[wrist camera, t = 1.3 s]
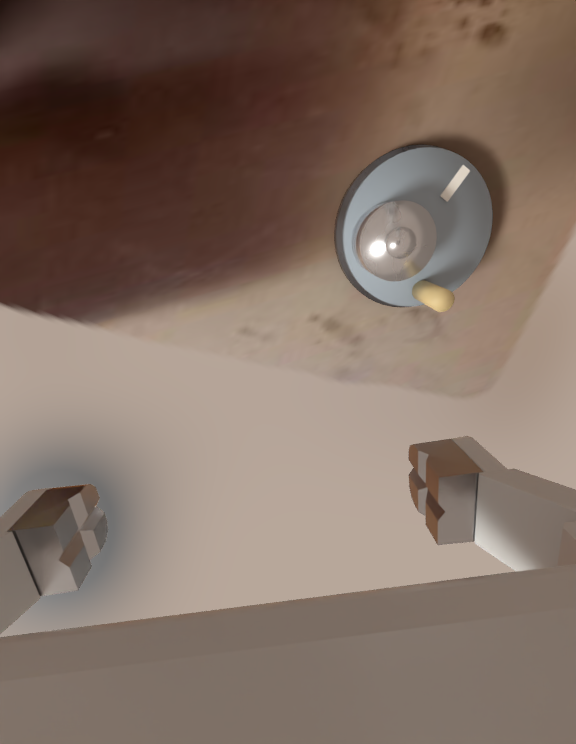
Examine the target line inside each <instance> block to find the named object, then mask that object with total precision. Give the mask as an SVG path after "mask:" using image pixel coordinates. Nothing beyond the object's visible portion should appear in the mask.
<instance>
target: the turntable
mask: <svg viewBox="0 0 576 744" xmlns="http://www.w3.org/2000/svg"><path fill="white" fill-rule="evenodd" d="M401 200H405V201H412V202H415V203H417V204H419V205H421V206H422V207H424V208H425V209H426V210H427V211H428V212H429V213H430V215H431V217H432V218H433V220H434V223H435V226H436V232H437V240H436V246H435V250H434V253H433V255H432V257H431V259H430V261H429V262H428V264H427V265H426V266H425V267H424V268H423V269H422V270H421V271H420V272H419V273H418V274H416V275H415V276H413V277H411V278H409V279H406V280H403V281H394V282H393V281H386V280H383V279H380V278H378V277H376V276H375V275H373V274H371V273H369V272H367V271H366V270H364V269H363V268H362V267H361V266H360V265H359V264H358V263H357V261H356V259H355V257H354V255H353V251H352V245H351V239H352V233H353V230H354V227H355V225H356V223H357V221H358V220H359V218H360V217H361V216H362V215H363V214H364V213H365V212H366V211H367V210H368V209H370V208H371V207H373V206H375V205H378V204H381V203H386V202H393V201H401ZM492 218H493V212H492V202H491V198H490V194H489V191H488V188H487V185H486V183H485V181H484V180H483V178H482V176H481V174H480V173H479V172H478V171H477V169H476V168H475V167H474V166H473V165H472V164H471V163H470V162H469V161H468V160H466V159H465V158H463V157H462V156H460V155H458V154H456V153H454V152H452V151H449V150H445V149H441V148H433V147H426V148H417V149H412V150H408V151H405V152H402V153H400V154H398V155H396V156H394V157H392V158H390V159H388V160H386V161H384V162H383V163H381V164H380V165H379V166H377V167H376V168H375V169H374V170H372V171H371V172H370V173H369V174H368V175H367V176H366V177H365V178H364V180H363V181H362V182H361V183H360V185H359V186H358V188H357V189H356V190H355V192H354V194H353V196H352V198H351V200H350V202H349V204H348V207H347V210H346V213H345V217H344V221H343V228H342V246H343V252H344V256H345V260H346V263H347V265H348V268H349V270H350V272H351V273H352V275H353V277H354V278H355V279H356V281H357V282H358V283H359V284H360V285H361V286H362V287H363V288H364V289H365V290H366V291H367V292H369V293H370V294H372V295H373V296H374V297H376V298H378V299H380V300H381V301H384V302H387V303H389V304H393V305H398V306H419V305H424V304H425V305H427V306H429V307H431V308H432V309H434V310H436V311H438V312H444V311H447V310H448V309H450V308H451V306H452V305H453V303H454V295H453V293H452V292H453V291H454V290H456V289H457V288H458V287H459V286H461V285H462V284H463V283H464V282H465V281H466V280H467V279H468V278H469V276H470V275H471V274H472V273H473V272H474V270H475V269H476V267H477V266H478V264H479V263H480V261H481V259H482V257H483V255H484V253H485V250H486V248H487V245H488V242H489V239H490V235H491V229H492Z"/></svg>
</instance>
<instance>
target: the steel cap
mask: <svg viewBox="0 0 576 744" xmlns="http://www.w3.org/2000/svg"><path fill="white" fill-rule="evenodd" d="M436 240H437V232H436V226H435V223H434V220H433V218H432V217H431V215H430V213H429V212H428V211H427V210H426V209H425V208H424V207H422V206H421V205H419V204H417V203H415V202H412V201H405V200H401V201H393V202H386V203H381V204H378V205H375V206H373V207H371V208H370V209H368V210H367V211H366V212H365V213H364V214H363V215H362V216H361V217H360V218H359V220H358V221H357V223H356V225H355V227H354V230H353V233H352V239H351V245H352V251H353V255H354V257H355V259H356V261H357V263H358V264H359V265H360V266H361V267H362V268H363V269H364V270H366V271H367V272H369V273H371V274H373V275H375V276H376V277H378V278H380V279H383V280H386V281H393V282H394V281H403V280H406V279H409V278H411V277H413V276H415V275H416V274H418V273H419V272H420V271H421V270H422V269H423V268H424V267H425V266H426V265H427V264H428V262H429V261H430V259H431V257H432V255H433V253H434V250H435V246H436Z"/></svg>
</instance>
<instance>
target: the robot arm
mask: <svg viewBox="0 0 576 744" xmlns="http://www.w3.org/2000/svg"><path fill="white" fill-rule="evenodd" d="M409 461H410V462H411V464H412V466H413V467H414V468H413V469H412V471H411V472H410V474H409V487H410V492H411V497H412V500H413V502H414V505H415V507H416V508H417V510H418V512H420V513H421V514H423V515H425V516H426V526H427V528H428V529H429V531H430V533H431V534H432V536H433V538H434V539H435V541H436V543H437V545H442V544H453V543H463V542H473V541H475V544H477V545H478V546H480V547H481V548H482V549H484V550H485V551H487V552H488V553H490V554H491V555H493V556H494V557H496V558H497V559H499V560H500V561H502V562H503V563H505V564H506V565H508V566H509V567H510V568H512V569H513V570H515V571H516V572H509V573H501V574H494V575H486V576H478V577H470V578H463V579H455V580H447V581H439V582H431V583H423V584H415V585H407V586H400V587H392V588H384V589H376V590H368V591H360V592H352V593H344V594H337V595H330V596H322V597H313V598H306V599H297V600H289V601H282V602H274V603H266V604H259V605H251V606H243V607H235V608H227V609H219V610H211V611H204V612H196V613H188V614H180V615H172V616H164V617H156V618H148V619H140V620H133V621H125V622H117V623H109V624H101V625H94V626H85V627H78V628H70V629H62V630H54V631H47V632H38V633H30V634H22V635H15V636H7V637H0V744H576V490H575V489H572V488H569V487H566V486H563V485H560V484H558V483H555V482H552V481H548V480H546V479H543V478H540V477H537V476H534V475H531V474H528V473H525V472H522V471H519V470H516V469H507V468H505V466H503V465H502V464H501V463H500V462H499V461H498V460H497V459H496V458H494V457H493V456H492V455H491V454H490V453H489V452H488V451H487V450H485V449H484V448H483V447H482V446H481V445H480V444H479V443H478V442H477V441H475V440H474V439H473V438H472V437H469V436H465V437H459V438H453V439H446V440H440V441H433V442H426V443H419V444H413V445H410V447H409ZM99 499H100V497H99V494H98V492H97V489H96V487H95V486H93V485H91V484H85V485H75V486H65V487H56V488H45V489H38V490H32V491H29V492H26V493H25V494H24V495H23V496H22V497H21V498H20V499H19V500H18V501H17V502H16V503H15V504H14V505H13V506H12V507H11V508H10V509H9V510H7V512H5V513H4V515H2V517H0V634H1V633H2V632H3V631H4V630H6V629H7V628H8V627H9V626H10V625H11V624H12V623H13V622H15V620H17V619H18V618H19V617H20V616H21V615H22V614H23V613H25V611H27V610H28V609H29V608H30V607H31V606H32V605H33V604H35V603H36V602H37V601H38V600H39V599H40V596H45V595H52V594H58V593H65V592H70V591H77V590H79V588H80V586H81V584H82V583H83V581H84V579H85V577H86V576H87V574H88V572H89V571H90V569H91V567H92V565H91V562H90V559H91V558H93V557H94V556H95V555H97V554H98V553H99V552H100V551H101V549H102V548H103V546H104V544H105V542H106V537H107V532H108V526H107V519H106V516H105V513H104V512H103V511H102V510H101V509H99V508H98V507H97V506H96V505H97V503H98V501H99Z"/></svg>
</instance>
